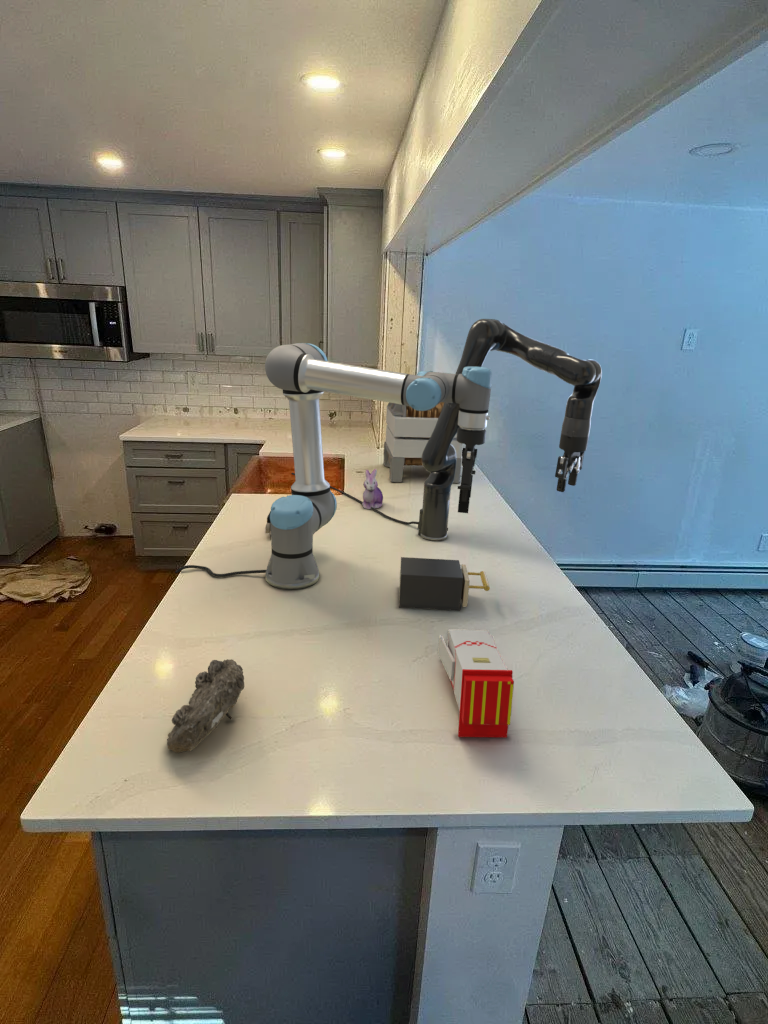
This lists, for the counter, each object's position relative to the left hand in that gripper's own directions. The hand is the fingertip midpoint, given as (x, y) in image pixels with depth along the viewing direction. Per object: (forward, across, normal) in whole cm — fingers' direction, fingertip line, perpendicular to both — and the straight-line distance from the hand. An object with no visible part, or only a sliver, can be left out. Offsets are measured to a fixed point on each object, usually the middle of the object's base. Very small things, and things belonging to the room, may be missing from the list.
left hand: (464, 504), depth 156 cm
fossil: (+25, -68, +42) cm, 83 cm away
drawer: (+24, -9, +2) cm, 26 cm away
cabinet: (+25, -10, +7) cm, 28 cm away
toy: (+25, -48, -6) cm, 54 cm away
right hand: (-3, +15, -28) cm, 32 cm away
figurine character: (+25, +24, +63) cm, 72 cm away
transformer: (+25, +115, +26) cm, 121 cm away
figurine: (+25, +61, +38) cm, 76 cm away
